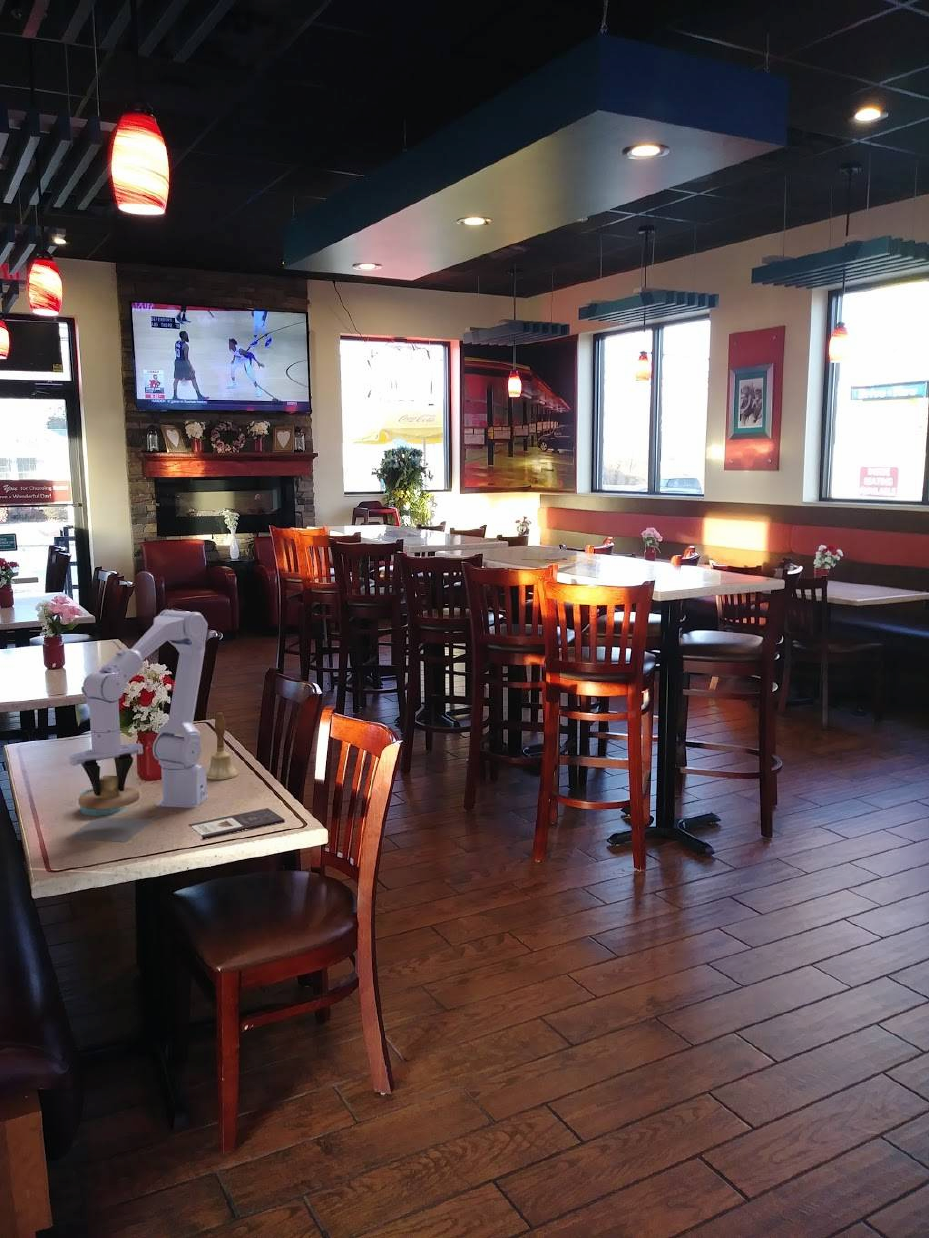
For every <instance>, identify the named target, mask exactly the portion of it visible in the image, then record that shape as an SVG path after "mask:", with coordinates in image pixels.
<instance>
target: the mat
mask: <svg viewBox="0 0 929 1238" xmlns="http://www.w3.org/2000/svg"><path fill="white" fill-rule="evenodd" d="M153 821H154V819H153V818H152V819H149V818H130V817H129V818H127V817H105V816H95V818H93V819H91V820H90V821H89V822H87V823H86V824H85V825H83V826H82V827H81V828H79V829H77V830H76V831H74V832H73V833H72V834H70V835H69V836H68V837H66V838H65V840H77V841H94V842H95V841H96V842H98V841H99V842H118V843H121V842H123V843H127V842H128V841H130V840H131V839H132V838H133V837H135V835H137V834H138V833H139V832H141V831H142V830H143V829H144V828H145V827H146V826H148V825H149V824H151V822H153Z"/></svg>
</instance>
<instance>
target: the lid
mask: <svg viewBox="0 0 929 1238" xmlns="http://www.w3.org/2000/svg"><path fill="white" fill-rule="evenodd" d="M100 790H101V794H100V796H96V795H95V794H94V791H90V792H87V793H85V794H83V795H81V796H80V795H79V797H78V805H79V807H80V806H81V807H84V808H88V809H113V808H119V807H123V806H125V807H126V806H129V805H132V804H134V803H136V802H137V801H139V799H140V792H139V790H137V789H135V788H133V787H126V786H124V791H119V777H118V776H117V775H109V774H108V775H107V774H106V775H103V776H101V777H100Z"/></svg>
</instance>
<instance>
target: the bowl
mask: <svg viewBox="0 0 929 1238" xmlns="http://www.w3.org/2000/svg"><path fill="white" fill-rule="evenodd" d="M90 791H93V787H91V788H88V789H85V790H83V791H81V792H80V793H79V797H80V796H81V795H83V794H85V793H87V792H90ZM125 807H126V806H123V807H119V808H113V809H88V808H84V807H81V806H80V805H79V810H80V814H82V815H85V816H89V817H90V816H94V817H101V816H106V815H113V814H115V813H118V812H121V811H122V810H124V809H125Z"/></svg>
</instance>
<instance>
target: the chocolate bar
mask: <svg viewBox="0 0 929 1238" xmlns="http://www.w3.org/2000/svg"><path fill="white" fill-rule="evenodd" d="M285 820H286V819H285V818H283V817H282V816H280V815H279V814H277V813H276V812H275V811H273V810H272V809H270V808H269V807H266V808H262V809H261V808H260V809H256V810H252V811H247V812H242V813H237V814H232V815H228V816H224V817H223V816H222V817H219V818H213V819H209V820H204V821H199V822H193V823H190V824H188V826H189V827H190V828H192V829H193V830H194V831H195V832H197V833H198V834H199V835H200V836H201V838H202V839H203V840H207V839H206V838H208V839H213V838H217V837H216V836H218V837H222V836H227V835H230V834H229V833H231V834H235V833H234V832H236V833H238V832H237V831H241V832H243V831H242V830H245V829H250V830H254V828H255V829H259V828H263V827H262V826H264V827H268V826H272V825H271V824H273V825H276V824H275V823H278V824H281V823H285ZM267 825H268V826H267ZM245 831H246V830H245ZM226 834H227V835H226ZM221 835H222V836H221ZM212 837H213V838H212Z"/></svg>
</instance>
